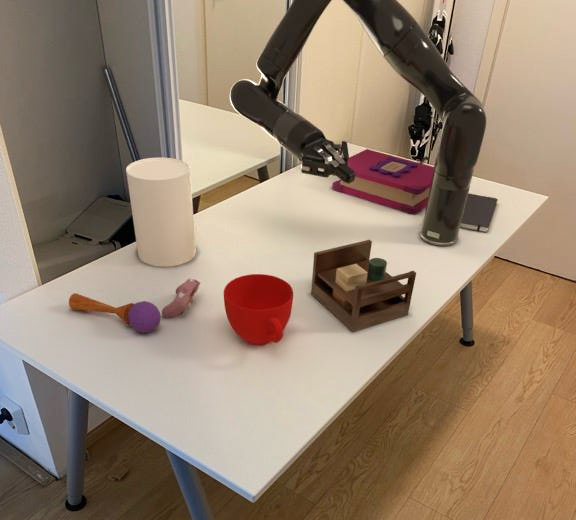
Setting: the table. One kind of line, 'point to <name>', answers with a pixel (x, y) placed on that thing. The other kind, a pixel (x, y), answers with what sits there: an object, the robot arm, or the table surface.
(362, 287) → the rack
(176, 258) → the canister
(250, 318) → the ceramic cup
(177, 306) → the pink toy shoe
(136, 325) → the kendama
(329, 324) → the table surface
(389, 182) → the book
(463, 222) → the notebook
